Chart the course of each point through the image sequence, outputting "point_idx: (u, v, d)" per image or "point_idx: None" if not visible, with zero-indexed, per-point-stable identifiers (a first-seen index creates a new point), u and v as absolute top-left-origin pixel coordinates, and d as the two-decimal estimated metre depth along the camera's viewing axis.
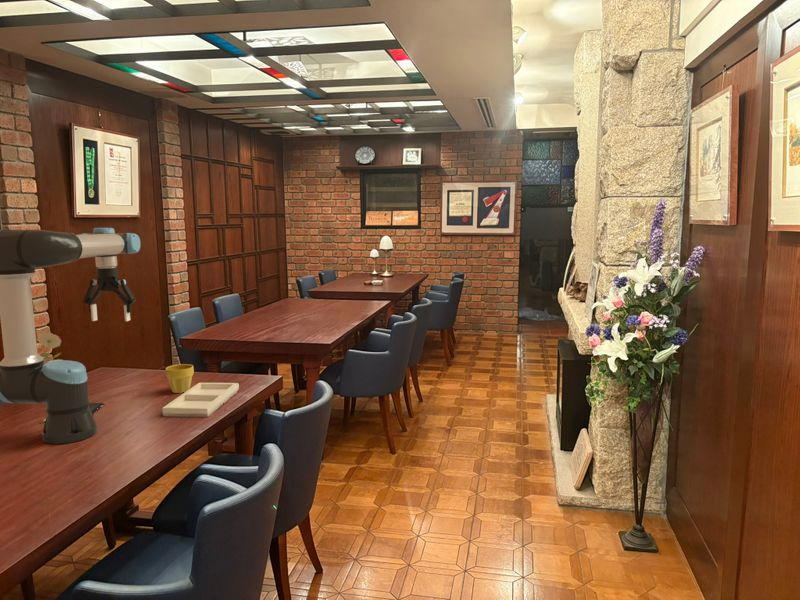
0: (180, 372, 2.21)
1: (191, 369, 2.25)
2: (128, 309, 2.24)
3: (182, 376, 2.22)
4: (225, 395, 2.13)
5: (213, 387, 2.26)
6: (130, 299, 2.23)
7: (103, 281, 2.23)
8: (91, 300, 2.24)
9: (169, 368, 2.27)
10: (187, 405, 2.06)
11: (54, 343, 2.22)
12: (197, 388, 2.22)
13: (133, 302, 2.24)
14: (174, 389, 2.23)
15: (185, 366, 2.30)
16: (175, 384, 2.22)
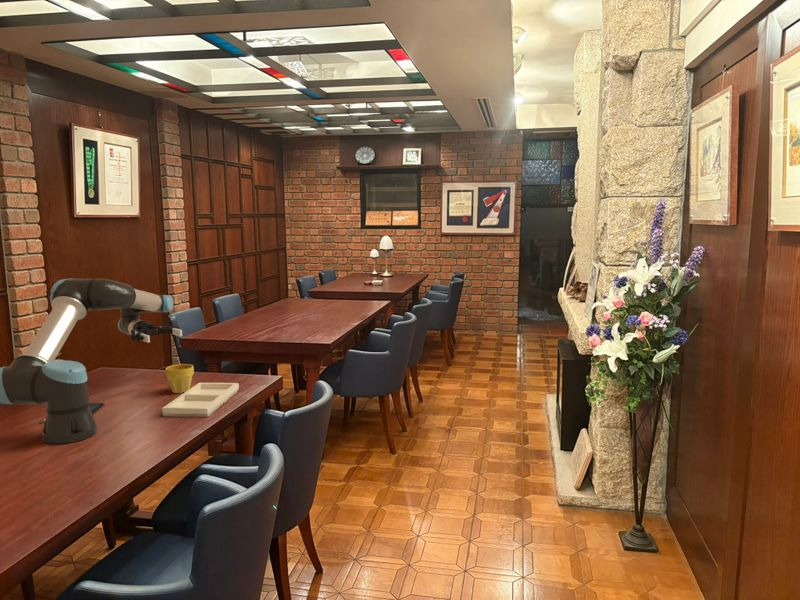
0: (180, 372, 2.21)
1: (191, 369, 2.25)
2: None
3: (182, 376, 2.22)
4: (225, 395, 2.13)
5: (213, 387, 2.26)
6: None
7: None
8: (139, 333, 2.30)
9: (169, 368, 2.27)
10: (187, 405, 2.06)
11: None
12: (197, 388, 2.22)
13: (179, 329, 2.42)
14: (174, 389, 2.23)
15: (185, 366, 2.30)
16: (175, 384, 2.22)
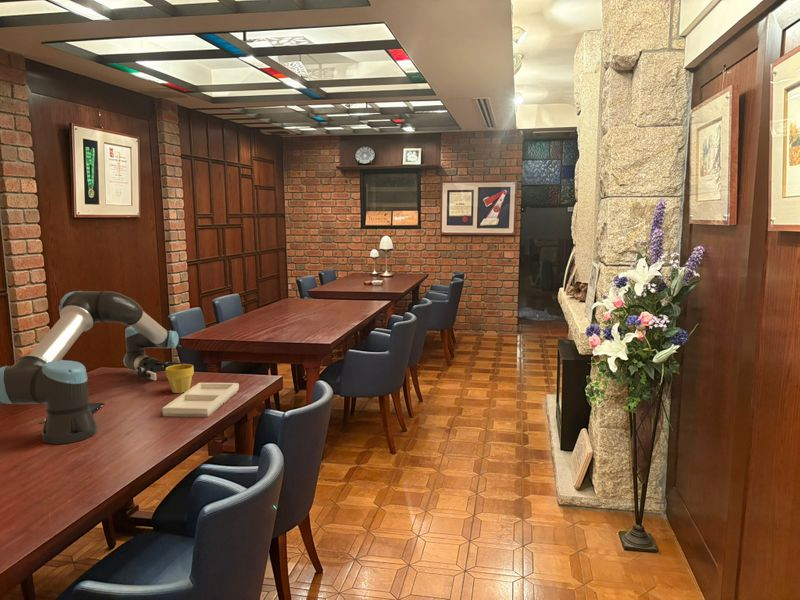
0: (180, 372, 2.21)
1: (191, 369, 2.25)
2: None
3: (182, 376, 2.22)
4: (225, 395, 2.13)
5: (213, 387, 2.26)
6: (181, 362, 2.44)
7: None
8: (145, 370, 2.31)
9: (169, 368, 2.27)
10: (187, 405, 2.06)
11: None
12: (197, 388, 2.22)
13: None
14: (174, 389, 2.23)
15: (185, 366, 2.30)
16: (175, 384, 2.22)
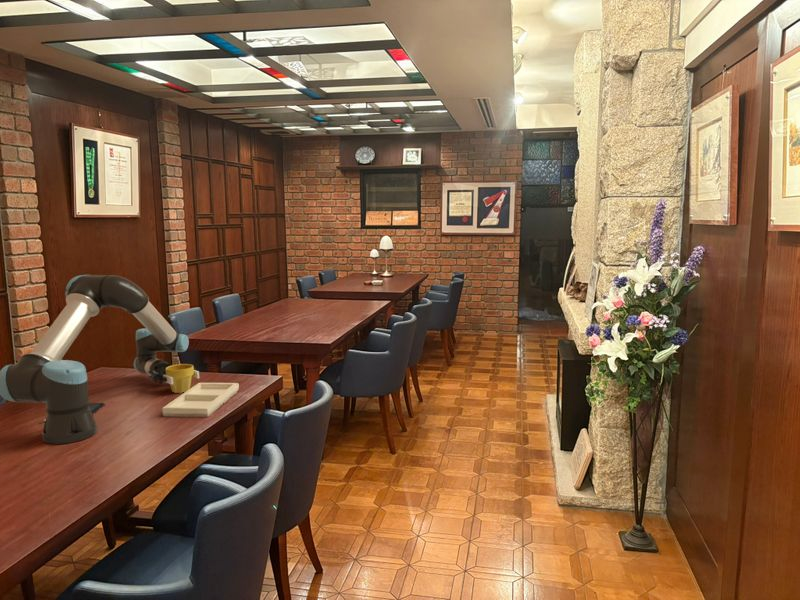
0: (180, 372, 2.21)
1: (191, 369, 2.25)
2: None
3: (182, 376, 2.22)
4: (225, 395, 2.13)
5: (213, 387, 2.26)
6: None
7: (161, 368, 2.33)
8: (161, 374, 2.25)
9: (169, 368, 2.27)
10: (187, 405, 2.06)
11: None
12: (197, 388, 2.22)
13: (195, 369, 2.35)
14: (174, 389, 2.23)
15: (185, 366, 2.30)
16: (175, 384, 2.23)
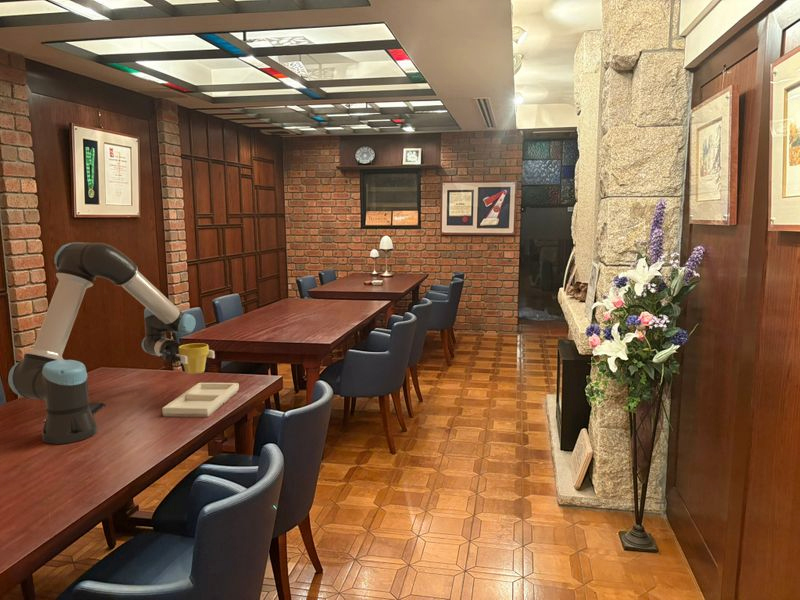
0: (195, 351, 2.05)
1: (206, 348, 2.09)
2: None
3: (197, 355, 2.06)
4: (225, 395, 2.13)
5: (213, 387, 2.26)
6: None
7: None
8: (173, 353, 2.08)
9: (182, 347, 2.11)
10: (187, 405, 2.06)
11: None
12: (197, 388, 2.22)
13: (209, 349, 2.19)
14: (188, 369, 2.07)
15: (199, 345, 2.14)
16: (189, 364, 2.06)
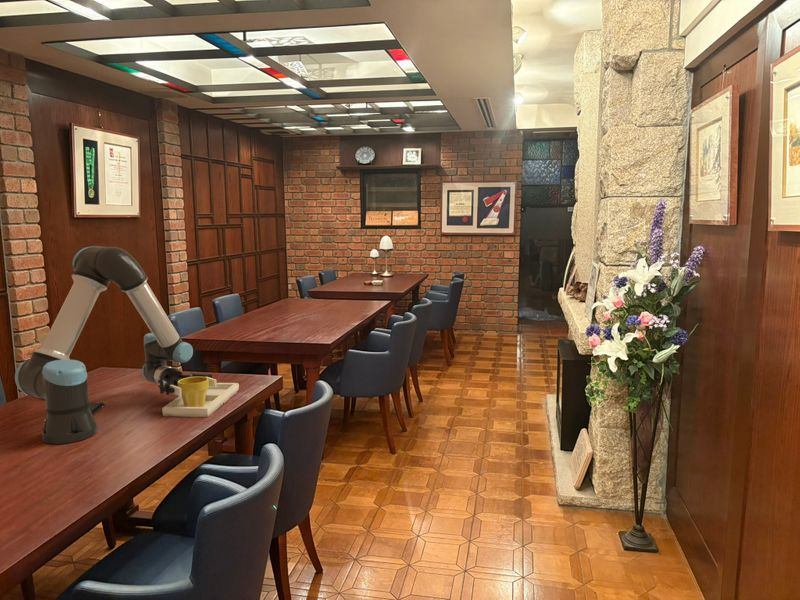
0: (194, 386, 1.99)
1: (206, 382, 2.03)
2: None
3: (196, 390, 1.99)
4: (225, 395, 2.13)
5: (213, 387, 2.26)
6: (208, 374, 2.14)
7: None
8: (168, 384, 2.02)
9: (181, 381, 2.05)
10: None
11: None
12: None
13: None
14: (187, 405, 2.01)
15: (199, 378, 2.08)
16: (188, 399, 2.00)
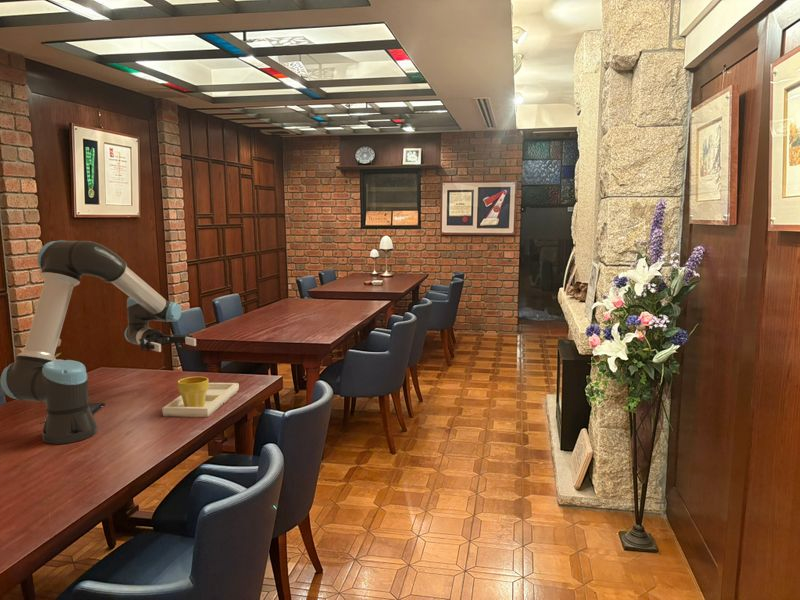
0: (194, 386, 1.99)
1: (206, 382, 2.03)
2: None
3: (196, 391, 1.99)
4: (225, 395, 2.13)
5: (213, 387, 2.26)
6: (189, 335, 2.21)
7: None
8: (149, 341, 2.09)
9: (181, 381, 2.05)
10: None
11: None
12: None
13: (192, 338, 2.21)
14: (187, 405, 2.01)
15: (199, 378, 2.08)
16: (188, 399, 2.00)
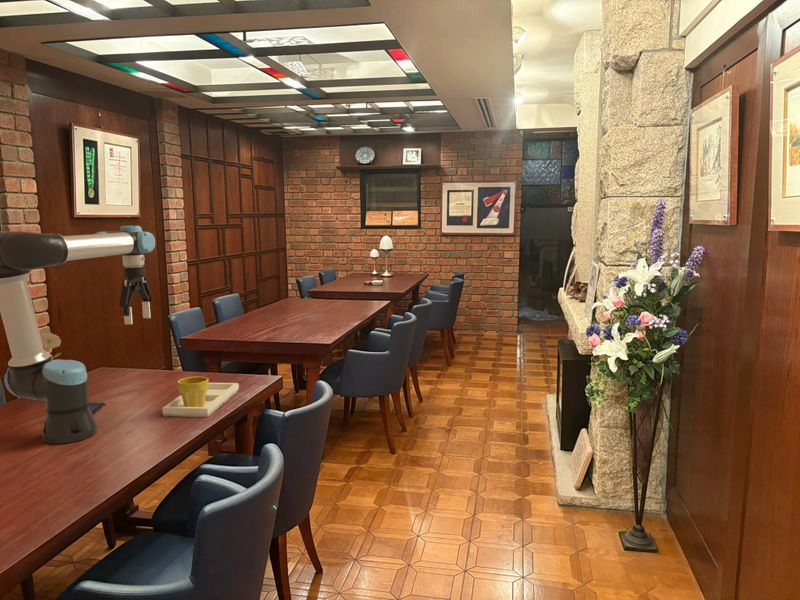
0: (194, 386, 1.99)
1: (206, 382, 2.03)
2: None
3: (196, 391, 1.99)
4: (225, 395, 2.13)
5: (213, 387, 2.26)
6: None
7: None
8: None
9: (181, 381, 2.05)
10: None
11: (54, 343, 2.22)
12: None
13: (121, 305, 2.10)
14: (187, 405, 2.01)
15: (198, 378, 2.08)
16: (188, 399, 2.00)
